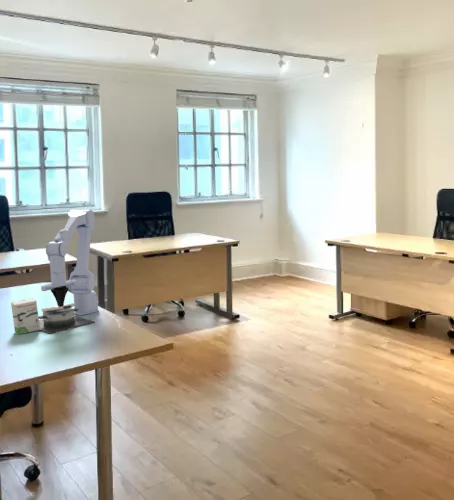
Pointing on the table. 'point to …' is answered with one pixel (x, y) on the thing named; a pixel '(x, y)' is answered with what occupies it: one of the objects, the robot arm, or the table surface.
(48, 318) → the cooking pot
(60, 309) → the lid
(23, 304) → the ink box
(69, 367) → the table surface
